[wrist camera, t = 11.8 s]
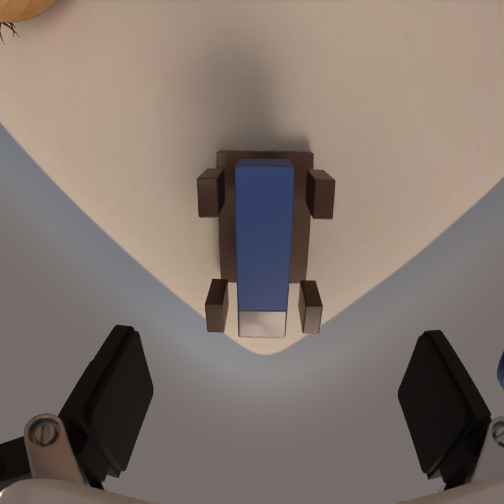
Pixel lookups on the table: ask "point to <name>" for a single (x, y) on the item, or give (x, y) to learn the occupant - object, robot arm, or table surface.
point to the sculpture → (21, 10)
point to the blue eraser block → (263, 244)
